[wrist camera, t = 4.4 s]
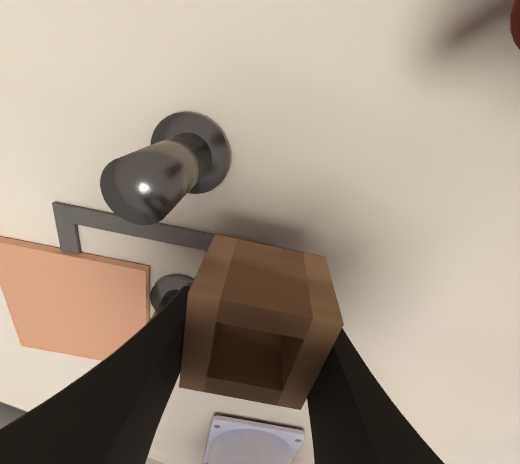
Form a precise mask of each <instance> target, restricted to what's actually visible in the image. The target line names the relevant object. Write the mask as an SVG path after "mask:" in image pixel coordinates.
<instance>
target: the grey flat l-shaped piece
mask: <svg viewBox="0 0 520 464" xmlns="http://www.w3.org/2000/svg"><path fill="white" fill-rule="evenodd" d="M52 206H53V211H54V216H55V221H56V227H57V232H58V237H59V243H60V248H61V251H64V252H69V253H74V254H80V253H81V249H80V243H79V236H78V229H77V225H82V226H87V227H92V228H97V229H102V230H107V231H112V232H117V233H122V234H127V235H131V236H136V237H141V238H146V239H151V240H156V241H161V242H166V243H171V244H176V245H181V246H186V247H191V248H196V249H201V250H205V251H208V248H209V246H210V244H211V242H212V240H213V237H214V235H215V234H210V233H205V232H200V231H195V230H190V229H186V228H181V227H176V226H171V225H166V224H161V223H155V224H152V225H137V224H133V223H130V222H128V221H126V220H124V219H122V218H120V217H119V216H118V215H116V214H113V213H108V212H103V211H98V210H93V209H88V208H83V207H79V206H74V205H69V204H64V203H59V202H53V203H52Z"/></svg>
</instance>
